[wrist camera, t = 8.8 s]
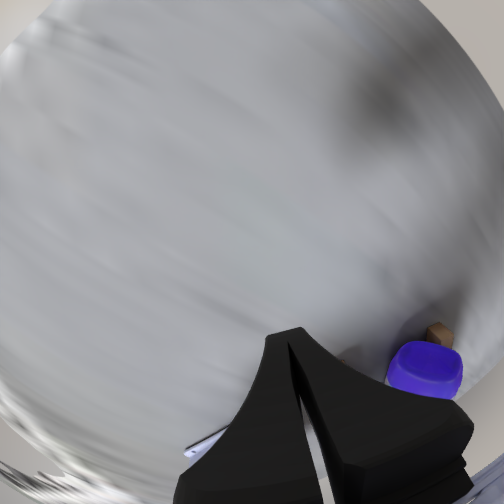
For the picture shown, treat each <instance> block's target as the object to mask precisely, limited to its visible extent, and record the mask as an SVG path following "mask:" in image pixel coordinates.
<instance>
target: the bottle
mask: <svg viewBox="0 0 504 504" xmlns="http://www.w3.org/2000/svg"><path fill="white" fill-rule="evenodd" d="M462 372H463V364H462V360H461V357H460V355H459V354H458V353H457V352H456V351H454V350H452V349H450V348H447V347H444V346H442V345H438V344H434V343H430V342H424V341H411V342H408V343H406V344H405V345H403V346H402V347H401V348H400V349H399V350H398V352H397V353H396V355H395V356H394V357H393V359H392V361H391V362H390V365H389V369H388V372H387V375H386V378H385V382H384V384H386V385H388V386H391V387H394V388H397V389H400V390H403V391H407V392H410V393H414V394H418V395H423V396H429V397H436V398H443V399H450V400H454V398H455V396H456V393H457V391H458V388H459V387H460V385H461V381H462V377H463V375H462Z"/></svg>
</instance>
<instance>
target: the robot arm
mask: <svg viewBox="0 0 504 504" xmlns="http://www.w3.org/2000/svg"><path fill="white" fill-rule="evenodd" d="M299 394H300V395H299ZM300 397H301V399H302V402H303V404H304V407H305V409H306V412H307V414H308V417H309V419H310V422H311V424H312V427H313V429H314V432H315V434H316V437H317V440H318V442H319V445H320V448H321V452H322V456H323V459H324V463H325V467H326V471H327V474H328V478H329V482H330V486H331V489H332V493H333V497H334V501H335V504H466V503H468V502H469V501H471V500H472V499H474V498H475V499H474V500H473V501H471V502H470V503H469V504H504V453H503V454H502V455H501V456H500V457H498V458H497V459H496V460H494V461H493V462H492V463H490V464H489V465H488V466H486V467H485V468H484V469H482V470H481V471H480V472H478V473H477V474H475V475H474V476H472V477H471V478H470V477H469V476H468V474H467V472H466V471H465V469H464V467H465V466H466V461H465V460H464V458H463V457H462V453H463V451H464V450H465V448H466V446H467V444H468V443H469V441H470V439H471V437H472V434H473V431H474V423H473V422H472V421H471V420H470V418H469V417H468V416H467V414H466V413H465V412H464V411H463V410H462V408H460V407H459V406H458V405H457V404H456V403H455V402H454V401H453V400H450V399H443V398H436V397H429V396H423V395H418V394H414V393H410V392H407V391H403V390H400V389H397V388H394V387H391V386H388V385H386V384H383V383H380V382H378V381H376V380H373V379H371V378H369V377H367V376H365V375H363V374H361V373H359V372H358V371H356V370H354V369H353V368H351V367H349V366H348V365H346V364H345V363H343V362H342V361H340V360H339V359H337V358H336V357H335V356H333V355H332V354H331V353H329V352H328V351H327V350H326V349H324V348H323V347H322V346H321V345H320V344H319V343H317V342H316V341H315V340H314V339H313V338H312V337H311V336H310V335H309V334H308V333H307V332H306V331H305V329H304V328H302V327H298V328H294V329H290V330H286V331H282V332H279V333H275V334H271V335H268V336H267V337H266V338H265V348H264V352H263V356H262V360H261V363H260V366H259V369H258V372H257V375H256V377H255V380H254V382H253V385H252V387H251V389H250V391H249V393H248V395H247V397H246V399H245V401H244V403H243V405H242V406H241V408H240V410H239V412H238V413H237V415H236V416H235V418H234V419H233V421H232V422H231V424H230V425H229V426H228V427H227V428H226V429H224V430H222V431H220V432H219V433H217V434H215V435H213V436H212V437H210V438H208V439H206V440H204V441H202V442H200V443H199V444H197V445H195V446H193V447H191V448H189V449H187V450H185V451H184V455H186V456H188V457H190V462H189V469H187V470H186V471H185V472H184V473H183V474H181V475H180V477H179V480H178V483H177V487H176V490H175V493H174V498H173V504H324V503H323V498H322V493H321V489H320V485H319V482H318V478H317V474H316V470H315V467H314V463H313V459H312V456H311V452H310V448H309V445H308V441H307V437H306V433H305V430H304V423H303V416H302V409H301V402H300Z"/></svg>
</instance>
